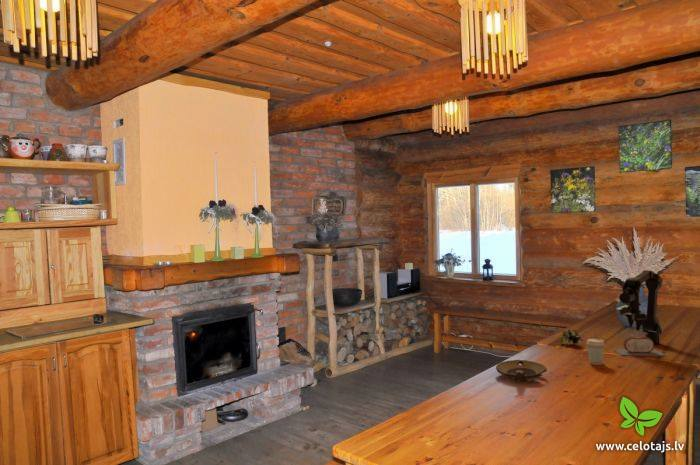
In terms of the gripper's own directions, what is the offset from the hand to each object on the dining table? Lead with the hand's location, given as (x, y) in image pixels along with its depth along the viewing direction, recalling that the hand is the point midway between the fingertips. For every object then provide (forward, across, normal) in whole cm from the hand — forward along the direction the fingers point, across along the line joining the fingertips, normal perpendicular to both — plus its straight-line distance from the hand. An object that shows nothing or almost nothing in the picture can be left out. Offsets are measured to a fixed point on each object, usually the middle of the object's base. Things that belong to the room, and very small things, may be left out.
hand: (634, 328), depth 292 cm
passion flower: (+12, -8, -32) cm, 35 cm away
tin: (+11, +10, -2) cm, 15 cm away
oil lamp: (+10, +60, -74) cm, 96 cm away
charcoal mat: (+11, +9, -2) cm, 15 cm away
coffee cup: (+11, +32, -31) cm, 46 cm away
